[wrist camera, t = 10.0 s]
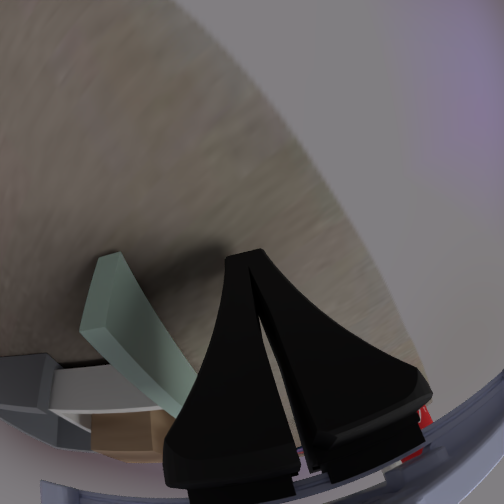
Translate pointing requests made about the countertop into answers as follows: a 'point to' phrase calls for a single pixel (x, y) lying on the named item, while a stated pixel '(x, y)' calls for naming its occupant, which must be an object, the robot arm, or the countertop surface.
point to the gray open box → (36, 403)
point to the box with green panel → (122, 354)
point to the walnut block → (131, 435)
